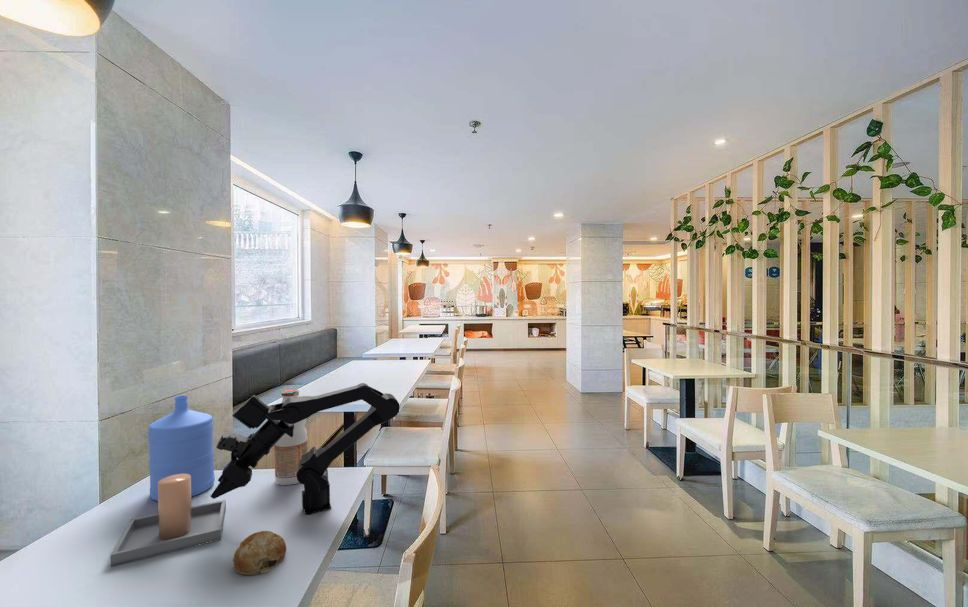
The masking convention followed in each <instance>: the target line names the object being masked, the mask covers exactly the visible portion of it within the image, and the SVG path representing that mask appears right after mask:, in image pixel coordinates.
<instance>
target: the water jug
mask: <svg viewBox="0 0 968 607" xmlns="http://www.w3.org/2000/svg"><path fill="white" fill-rule="evenodd" d="M188 398H189V396H188V395H179V396H175V397H174V398H173V399H174V410H173V412H171V413H169V414H166V415H164V416H163V417H161V418H159V419H157V420H155V421H153V422H151V423H150V425H149V426H148V432H147V437H148V438H147V440H148V447H149V452H148V453H149V456H148V457H149V460H148V469H149V484H150V485H149V486H150V487H149V497H150V498H151V499H152V500H153V501H156V502H158V482H159V481H160V480H161V479H163V478H166V477H168V476H172V475H176V474H189V475H191V498H192V497H195V496H197V495H200V494H202V493H204V492H205V491H208V490H209V489H210V488H211V487H212V486H213V485H214V484H215V481H216V480H215V477H216V476H215V465H214V463H215V462H214V461H215V460H214V457H215V456H214V455H215V454H214V453H215V451H214V421H213V416H212V415H211V414H209V413H205V412H201V411H197V410H192V409H189V407H188V405H189V404H188V403H189V401H188Z"/></svg>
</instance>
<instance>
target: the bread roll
mask: <svg viewBox="0 0 968 607" xmlns="http://www.w3.org/2000/svg"><path fill="white" fill-rule="evenodd" d="M286 544H287V543H286V541H285V539H284V538H283V536H281V535H280V534H277V533H275V532H273V531H271V530H260V531H257V532H254V533H252V534H250V535H248V536H247V537H245V538H244V539H243V541H241V542H240V544H239V546H238V547H237V548H236V550H235V551H234V554H233V559H232V561H233V569H234V570H235V571H236V572H237V573H238V574H241V575H243V576H244V575H246V576H254V575H255V576H256V575H258V574H266V573H268V571H270V570H272V569H273V568H275V567H276V566H277V565H279V563H281V562H282V561H283V560H284V559H285V556H286V554H287V545H286Z"/></svg>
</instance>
